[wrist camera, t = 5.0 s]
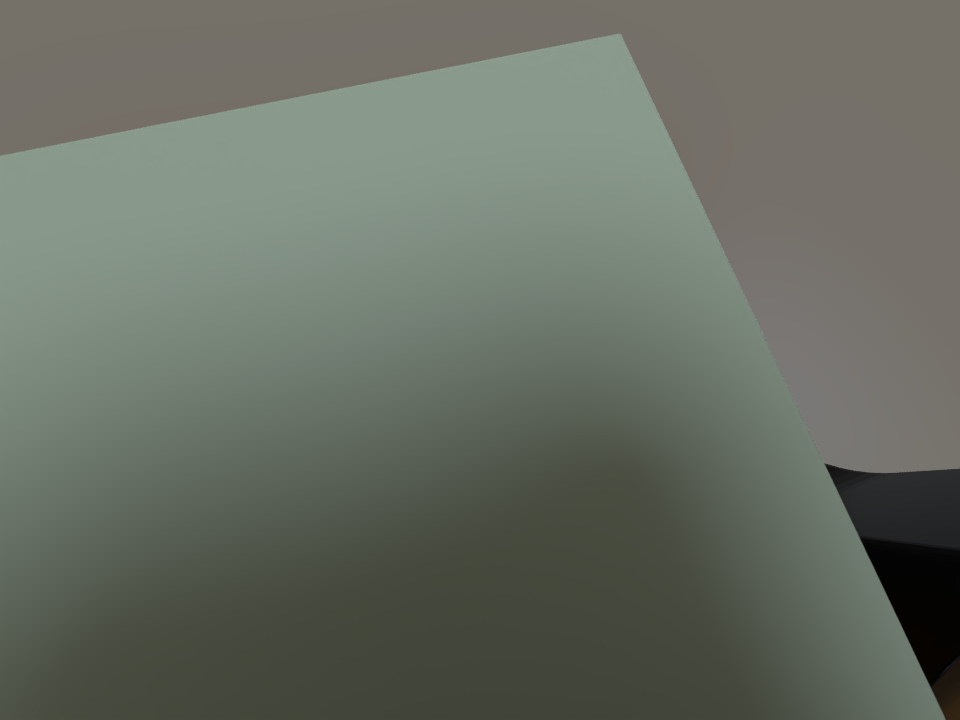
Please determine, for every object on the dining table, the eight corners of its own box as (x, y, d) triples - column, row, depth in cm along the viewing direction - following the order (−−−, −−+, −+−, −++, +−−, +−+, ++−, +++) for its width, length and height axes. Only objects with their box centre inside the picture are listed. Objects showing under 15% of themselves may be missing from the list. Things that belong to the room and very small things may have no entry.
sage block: (525, 518, 16) (994, 819, 2) (387, 566, 15) (-175, 1430, 2) (483, 385, 17) (621, 32, 3) (352, 425, 16) (-163, 189, 3)
